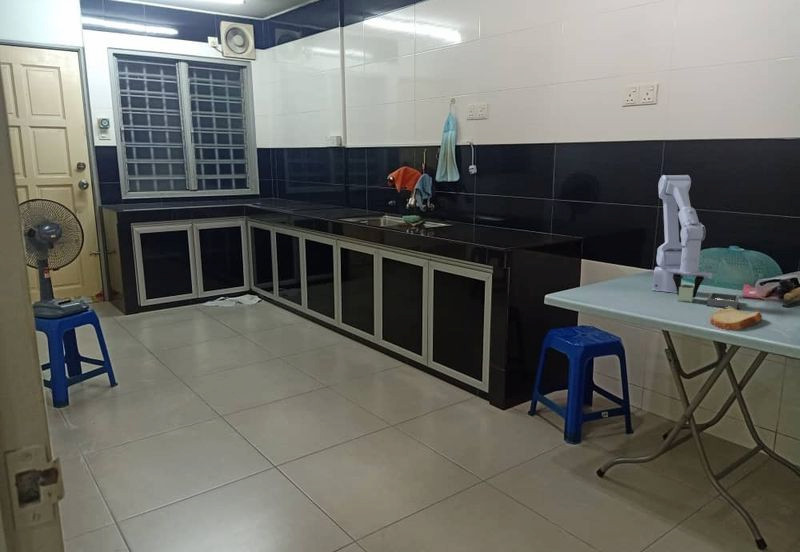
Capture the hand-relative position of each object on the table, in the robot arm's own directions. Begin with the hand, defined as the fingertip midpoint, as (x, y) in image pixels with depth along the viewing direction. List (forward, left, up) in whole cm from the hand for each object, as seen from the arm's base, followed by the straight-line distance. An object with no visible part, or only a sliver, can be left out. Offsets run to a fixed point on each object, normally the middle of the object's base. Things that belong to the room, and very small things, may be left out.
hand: (686, 296), depth 200 cm
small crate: (0, 0, -1) cm, 1 cm away
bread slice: (+17, -23, -2) cm, 29 cm away
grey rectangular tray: (+12, 0, -1) cm, 12 cm away
